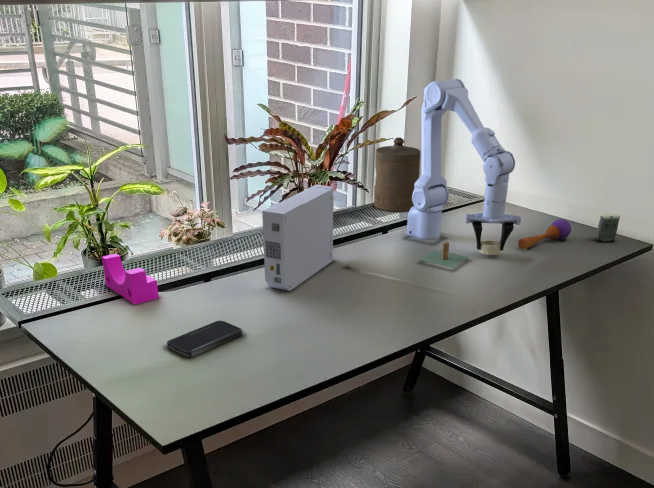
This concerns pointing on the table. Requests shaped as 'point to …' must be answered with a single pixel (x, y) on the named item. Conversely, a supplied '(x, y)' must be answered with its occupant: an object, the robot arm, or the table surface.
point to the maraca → (548, 234)
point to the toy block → (129, 281)
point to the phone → (204, 338)
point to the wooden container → (396, 176)
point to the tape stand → (444, 257)
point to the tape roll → (490, 247)
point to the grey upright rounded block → (607, 228)
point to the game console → (298, 237)
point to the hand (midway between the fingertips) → (489, 249)
